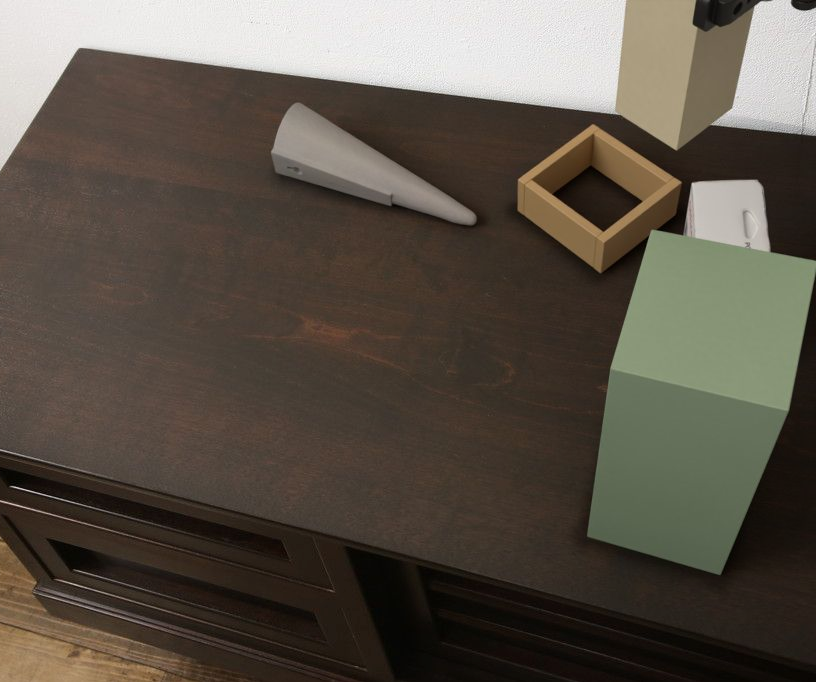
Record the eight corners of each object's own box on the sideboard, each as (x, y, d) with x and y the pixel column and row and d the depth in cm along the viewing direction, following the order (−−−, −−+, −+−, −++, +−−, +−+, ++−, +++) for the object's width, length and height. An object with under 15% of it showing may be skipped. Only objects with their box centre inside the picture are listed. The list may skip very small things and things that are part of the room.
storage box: (675, 214, 90) (682, 182, 87) (600, 273, 88) (604, 242, 85) (590, 156, 95) (593, 123, 92) (517, 210, 93) (517, 179, 90)
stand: (747, 450, 77) (818, 260, 60) (720, 575, 73) (789, 411, 55) (620, 418, 80) (651, 228, 63) (586, 536, 76) (610, 368, 58)
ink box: (671, 277, 87) (691, 176, 77) (737, 278, 86) (766, 176, 76) (676, 368, 82) (699, 273, 72) (747, 370, 81) (779, 274, 71)
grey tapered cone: (501, 150, 92) (298, 89, 97) (473, 210, 90) (268, 144, 95) (498, 187, 97) (306, 127, 102) (472, 245, 95) (277, 180, 100)
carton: (732, 108, 62) (773, -76, 52) (676, 151, 61) (707, -29, 51) (669, 71, 64) (696, -111, 54) (614, 111, 63) (632, -67, 53)
